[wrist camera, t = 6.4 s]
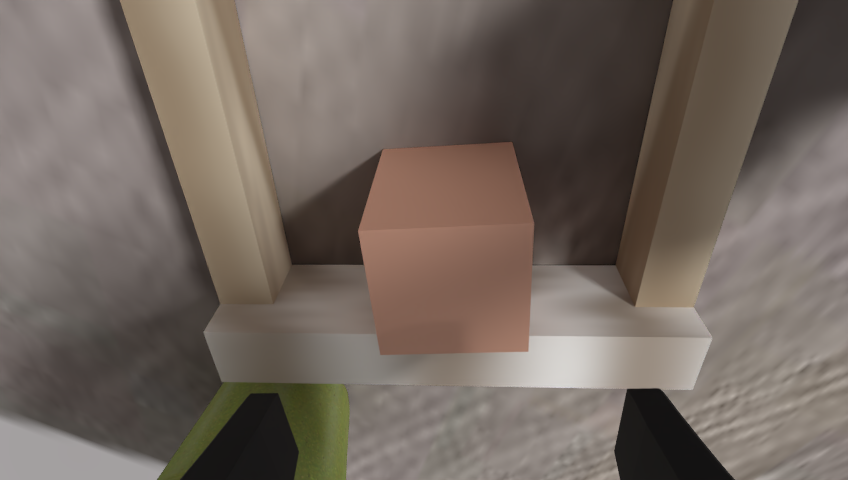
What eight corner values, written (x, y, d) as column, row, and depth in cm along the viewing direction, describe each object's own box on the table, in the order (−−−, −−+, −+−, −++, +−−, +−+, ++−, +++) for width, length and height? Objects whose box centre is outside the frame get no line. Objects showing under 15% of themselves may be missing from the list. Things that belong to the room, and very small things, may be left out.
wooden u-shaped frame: (839, -333, 11) (1015, -449, 7) (653, 314, 21) (692, 390, 17) (90, -284, 12) (-56, -365, 8) (257, 310, 22) (221, 381, 18)
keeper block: (511, 141, 17) (534, 223, 12) (510, 249, 19) (528, 351, 15) (383, 148, 17) (357, 231, 13) (397, 254, 20) (380, 355, 15)
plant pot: (423, 402, 25) (410, 605, 17) (303, 471, 28) (251, 661, 21) (274, 290, 21) (180, 484, 14) (160, 385, 25) (38, 578, 18)
